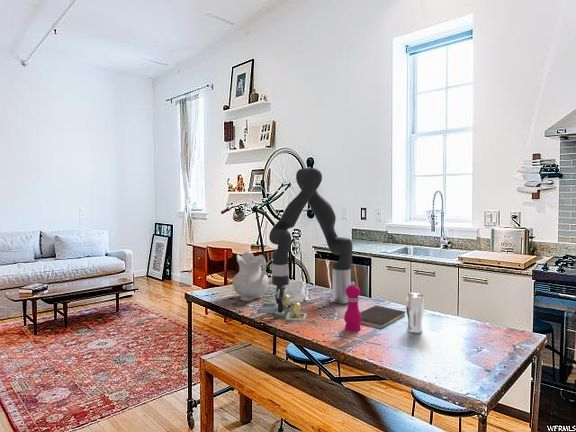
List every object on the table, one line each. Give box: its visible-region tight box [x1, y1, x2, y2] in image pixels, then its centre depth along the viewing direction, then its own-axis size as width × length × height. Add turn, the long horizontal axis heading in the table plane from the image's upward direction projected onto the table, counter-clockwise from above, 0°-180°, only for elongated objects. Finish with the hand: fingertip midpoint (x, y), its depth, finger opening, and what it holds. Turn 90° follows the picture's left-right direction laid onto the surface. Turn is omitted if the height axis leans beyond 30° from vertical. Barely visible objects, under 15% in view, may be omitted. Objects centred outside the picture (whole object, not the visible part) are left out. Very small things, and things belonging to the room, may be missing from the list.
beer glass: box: [405, 292, 425, 334], centre depth 164 cm, size 7×7×15 cm
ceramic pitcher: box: [231, 251, 270, 302], centre depth 214 cm, size 22×20×25 cm
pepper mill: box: [343, 281, 362, 332], centre depth 167 cm, size 7×7×20 cm
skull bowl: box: [285, 279, 309, 304], centre depth 208 cm, size 10×14×12 cm
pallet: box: [258, 302, 292, 314], centre depth 191 cm, size 16×10×3 cm, turn 81°
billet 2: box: [291, 302, 302, 318], centre depth 180 cm, size 4×4×7 cm
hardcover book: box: [359, 305, 407, 329], centre depth 182 cm, size 16×23×2 cm
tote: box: [285, 312, 307, 322], centre depth 180 cm, size 8×8×2 cm
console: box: [273, 312, 288, 320], centre depth 181 cm, size 5×5×2 cm
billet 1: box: [283, 294, 291, 308], centre depth 190 cm, size 4×4×7 cm
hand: (280, 311), depth 181 cm, fingers closed
